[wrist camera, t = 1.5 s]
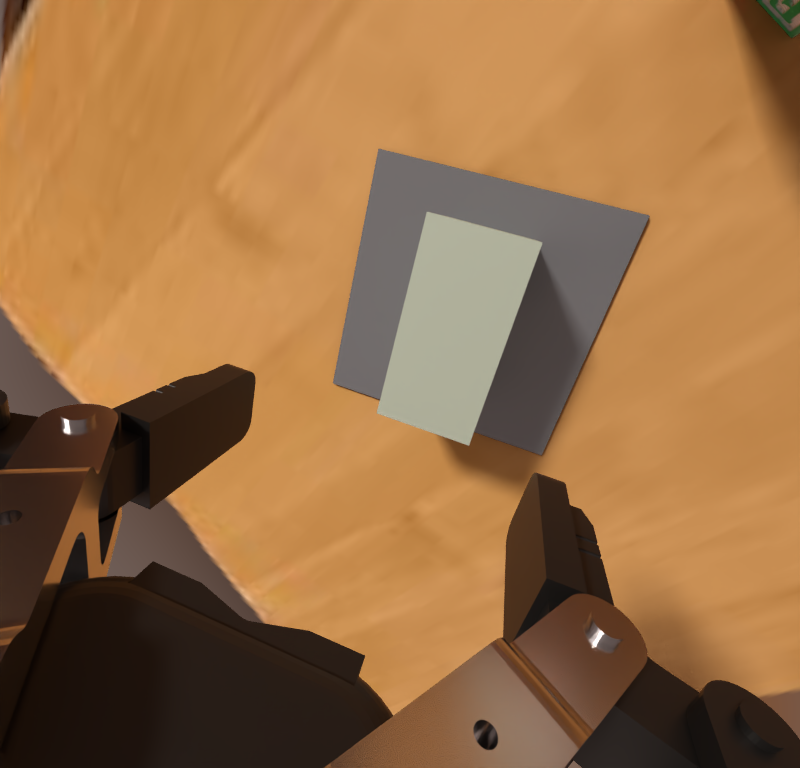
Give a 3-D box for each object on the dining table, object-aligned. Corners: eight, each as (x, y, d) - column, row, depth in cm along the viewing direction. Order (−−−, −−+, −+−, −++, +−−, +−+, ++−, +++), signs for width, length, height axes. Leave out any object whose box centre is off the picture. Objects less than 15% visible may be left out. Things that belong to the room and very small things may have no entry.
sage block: (536, 240, 28) (542, 242, 20) (479, 397, 32) (468, 445, 25) (449, 217, 28) (426, 211, 21) (407, 373, 33) (376, 413, 26)
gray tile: (648, 215, 26) (650, 215, 25) (541, 453, 33) (541, 455, 33) (379, 149, 28) (378, 148, 28) (334, 382, 36) (332, 383, 35)
